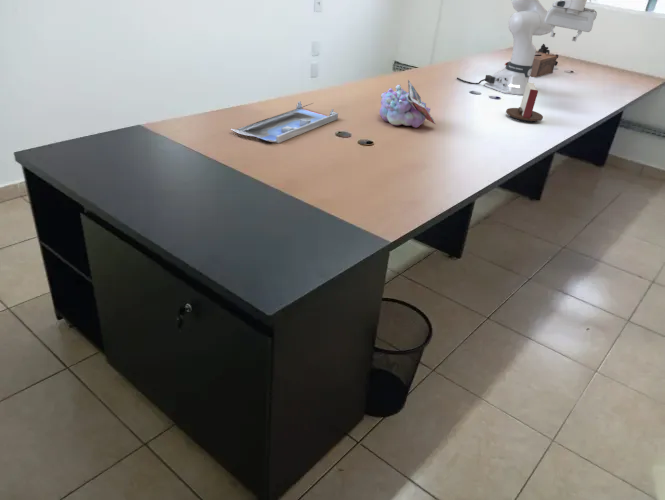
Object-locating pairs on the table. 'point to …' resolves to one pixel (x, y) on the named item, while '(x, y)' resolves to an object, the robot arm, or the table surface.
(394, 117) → the lilac bumpy lump
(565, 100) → the table surface
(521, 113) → the upright block on disc
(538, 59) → the tissue box cover
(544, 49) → the tablet mount
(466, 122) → the table surface
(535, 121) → the stand base
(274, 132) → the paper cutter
